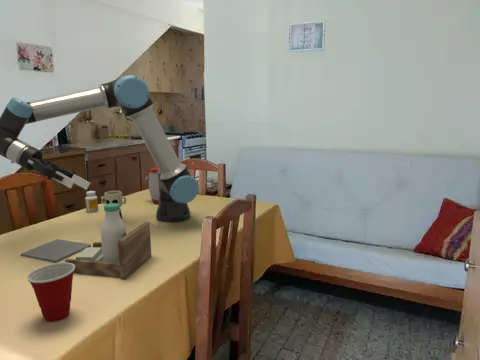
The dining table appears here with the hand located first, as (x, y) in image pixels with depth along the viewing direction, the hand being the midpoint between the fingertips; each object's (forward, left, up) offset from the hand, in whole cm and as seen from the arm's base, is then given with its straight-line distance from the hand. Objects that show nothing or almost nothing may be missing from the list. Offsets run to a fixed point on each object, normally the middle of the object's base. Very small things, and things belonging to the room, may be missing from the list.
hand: (81, 185), depth 136 cm
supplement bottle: (0, -55, -24) cm, 60 cm away
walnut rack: (-7, +13, -24) cm, 28 cm away
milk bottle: (-9, +14, -24) cm, 30 cm away
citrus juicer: (-34, -63, -24) cm, 75 cm away
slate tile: (+10, -5, -24) cm, 26 cm away
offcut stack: (-2, +10, -24) cm, 26 cm away
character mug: (-10, -35, -24) cm, 44 cm away
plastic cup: (+5, +42, -24) cm, 49 cm away
